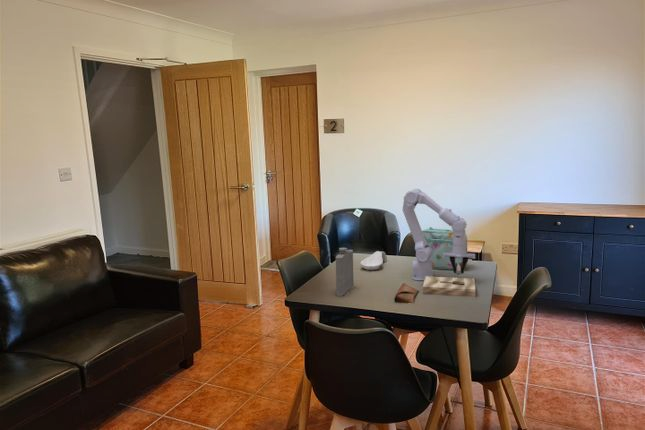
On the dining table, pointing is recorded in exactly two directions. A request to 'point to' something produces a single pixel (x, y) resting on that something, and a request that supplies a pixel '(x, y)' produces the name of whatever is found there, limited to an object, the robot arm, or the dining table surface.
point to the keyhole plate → (449, 286)
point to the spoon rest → (374, 261)
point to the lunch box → (441, 247)
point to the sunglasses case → (406, 294)
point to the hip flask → (344, 271)
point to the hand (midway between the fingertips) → (458, 272)
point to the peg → (458, 269)
